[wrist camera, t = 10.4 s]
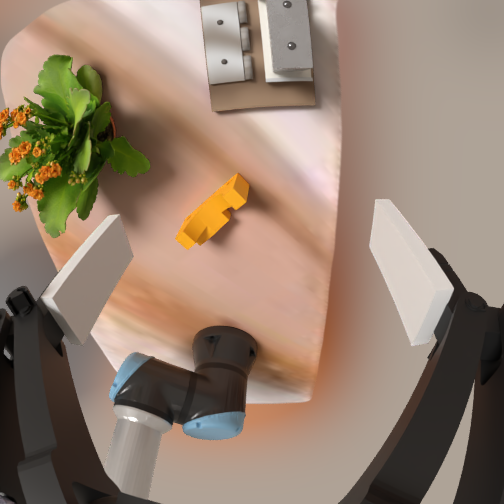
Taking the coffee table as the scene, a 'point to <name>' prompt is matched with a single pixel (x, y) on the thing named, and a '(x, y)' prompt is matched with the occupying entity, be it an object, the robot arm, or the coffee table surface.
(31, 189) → the potted flower
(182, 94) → the coffee table surface
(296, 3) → the leaf block
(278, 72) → the leaf seat
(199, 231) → the pipe clamp
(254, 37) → the hinge board
